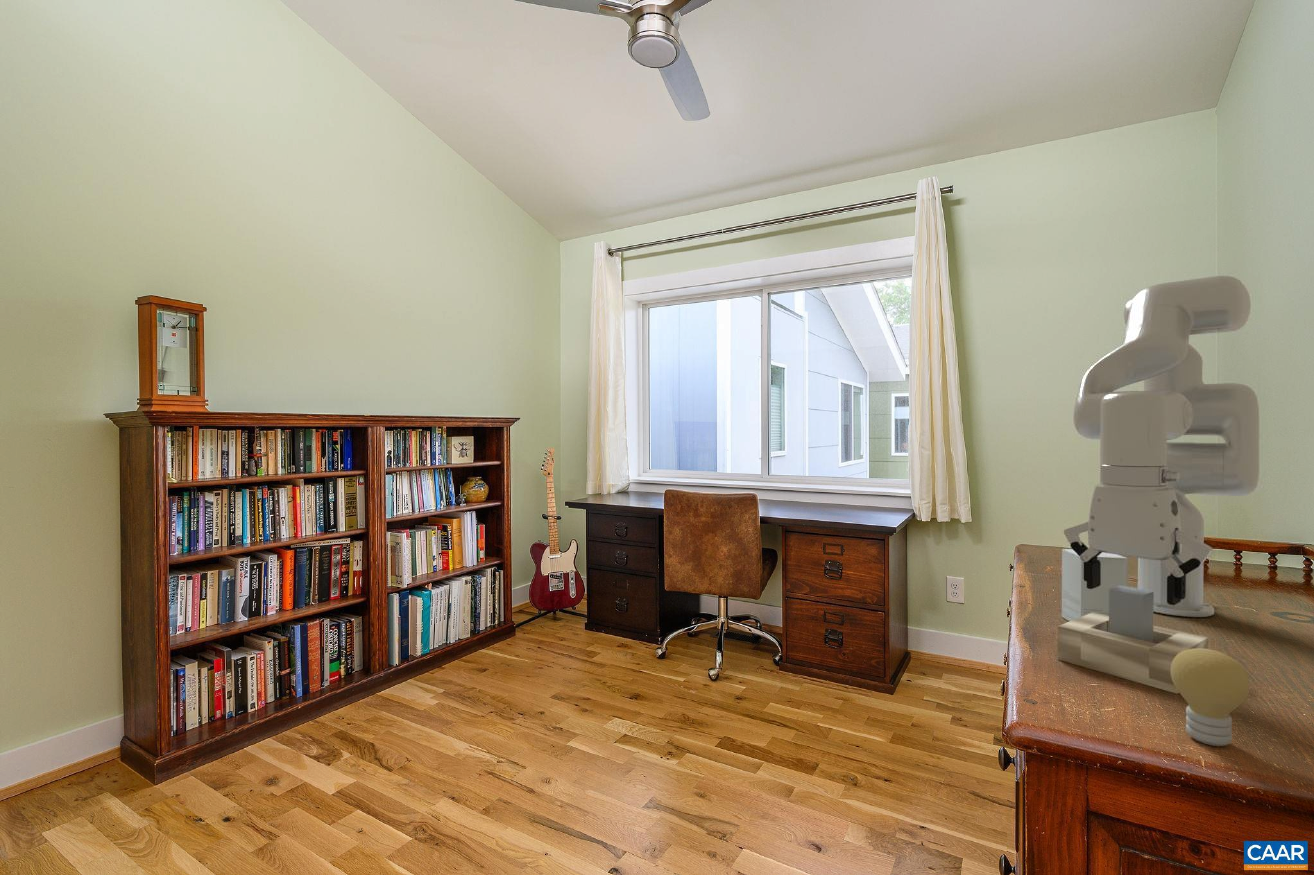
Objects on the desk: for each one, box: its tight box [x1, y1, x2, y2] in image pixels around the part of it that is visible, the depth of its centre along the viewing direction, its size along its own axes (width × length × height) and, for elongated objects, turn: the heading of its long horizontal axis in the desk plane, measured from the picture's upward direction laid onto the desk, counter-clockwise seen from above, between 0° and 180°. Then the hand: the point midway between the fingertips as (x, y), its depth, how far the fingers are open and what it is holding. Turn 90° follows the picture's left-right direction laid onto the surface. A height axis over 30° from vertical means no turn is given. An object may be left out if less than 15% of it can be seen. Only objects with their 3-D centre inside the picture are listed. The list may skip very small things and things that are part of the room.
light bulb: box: [1171, 648, 1251, 747], centre depth 66 cm, size 6×6×10 cm
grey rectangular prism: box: [1109, 585, 1155, 643], centre depth 87 cm, size 4×4×10 cm
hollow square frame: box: [1057, 612, 1209, 695], centre depth 87 cm, size 12×14×5 cm
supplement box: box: [1061, 548, 1129, 622], centre depth 106 cm, size 7×7×13 cm
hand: (1132, 594), depth 87 cm, fingers open, 9 cm apart
